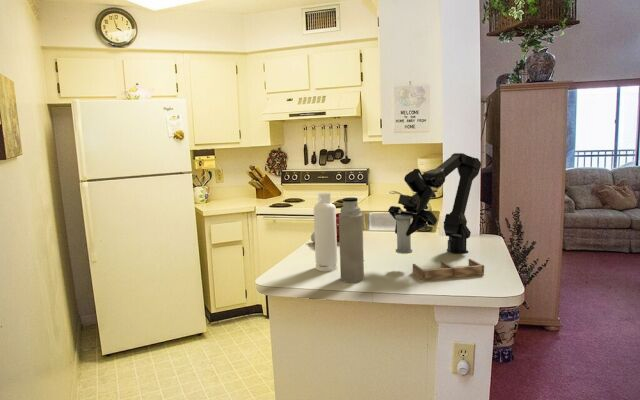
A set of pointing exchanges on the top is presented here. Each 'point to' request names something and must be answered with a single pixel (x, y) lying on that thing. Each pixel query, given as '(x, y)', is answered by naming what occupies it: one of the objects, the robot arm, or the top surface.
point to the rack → (449, 271)
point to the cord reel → (403, 234)
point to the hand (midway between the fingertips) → (401, 234)
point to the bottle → (325, 233)
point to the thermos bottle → (351, 241)
